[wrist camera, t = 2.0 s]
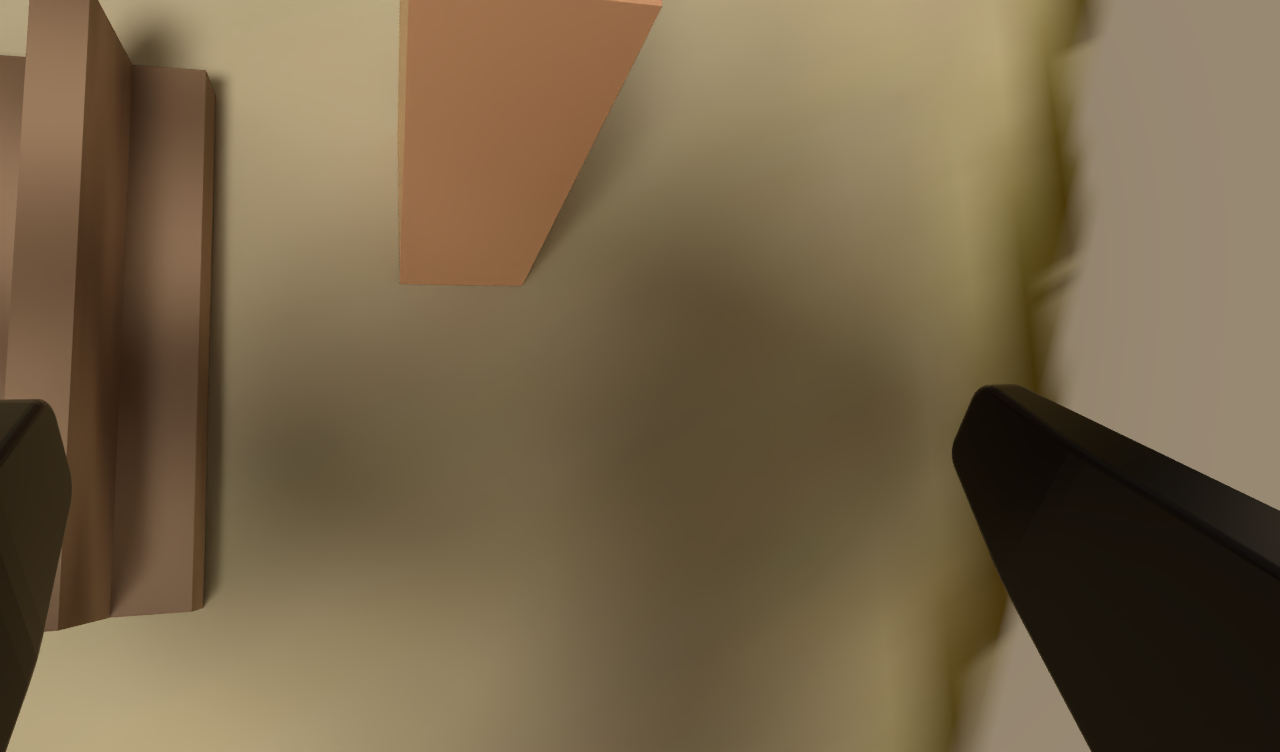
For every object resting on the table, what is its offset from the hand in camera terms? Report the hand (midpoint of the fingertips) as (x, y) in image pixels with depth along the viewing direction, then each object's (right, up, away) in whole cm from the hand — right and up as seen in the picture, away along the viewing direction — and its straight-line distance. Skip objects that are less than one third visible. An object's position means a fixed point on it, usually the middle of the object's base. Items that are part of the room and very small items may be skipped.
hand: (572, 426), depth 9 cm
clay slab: (-4, +5, +14) cm, 15 cm away
